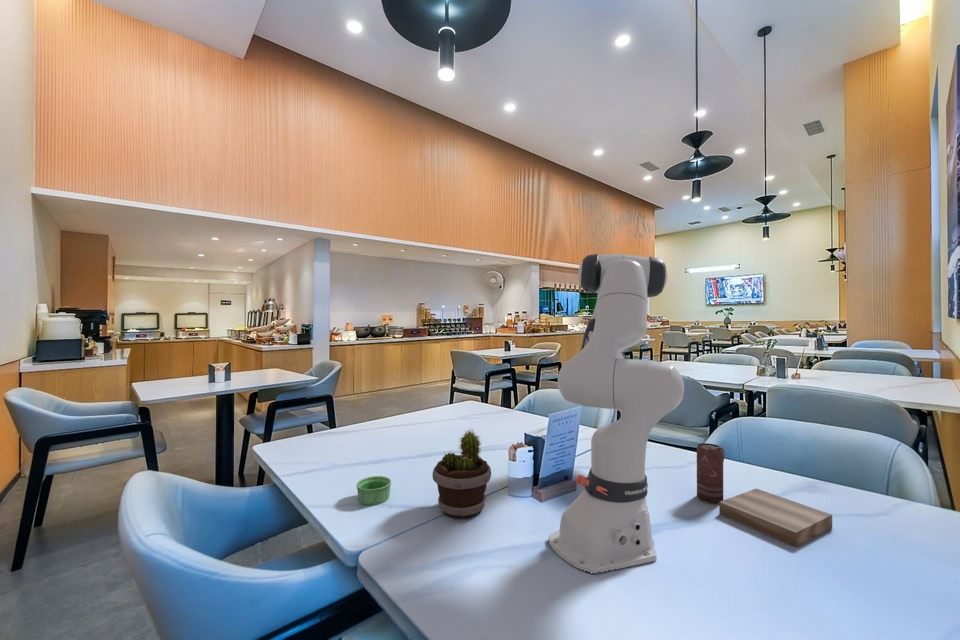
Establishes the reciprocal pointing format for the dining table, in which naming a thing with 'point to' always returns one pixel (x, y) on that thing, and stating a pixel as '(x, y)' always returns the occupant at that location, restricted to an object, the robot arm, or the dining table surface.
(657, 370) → the robot arm
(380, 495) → the ramekin
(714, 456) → the can
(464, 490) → the flowerpot
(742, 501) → the walnut base
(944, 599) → the dining table surface
